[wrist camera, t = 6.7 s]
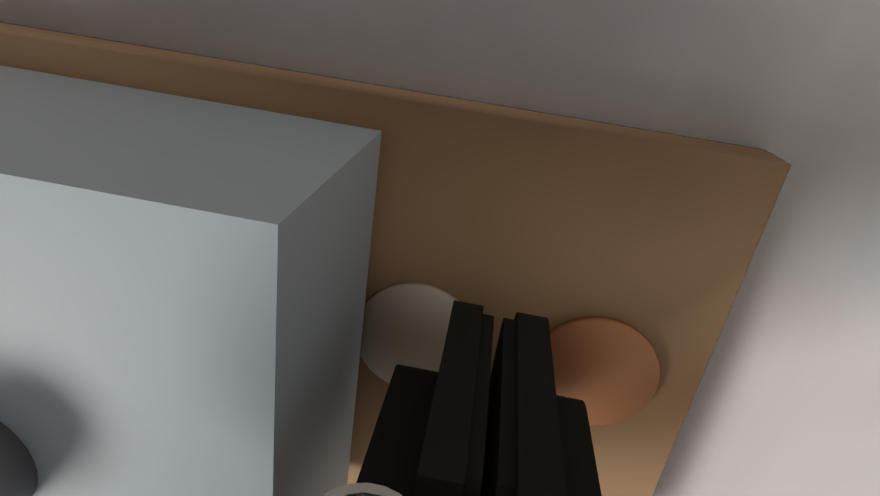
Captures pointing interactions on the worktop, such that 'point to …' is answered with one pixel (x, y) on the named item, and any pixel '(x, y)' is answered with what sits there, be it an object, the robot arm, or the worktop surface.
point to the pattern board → (510, 233)
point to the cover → (177, 292)
